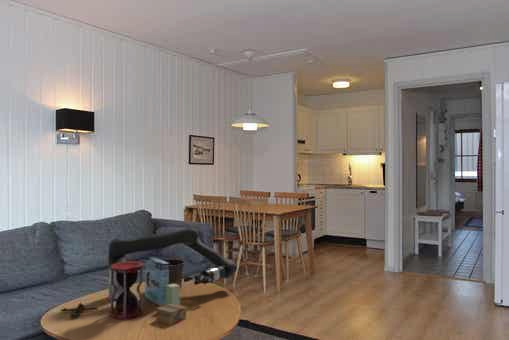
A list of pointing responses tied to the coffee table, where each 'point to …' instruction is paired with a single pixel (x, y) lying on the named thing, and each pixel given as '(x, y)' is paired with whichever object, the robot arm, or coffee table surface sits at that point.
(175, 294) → the sage block
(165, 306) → the walnut base block
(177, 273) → the plant pot
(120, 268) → the hourglass
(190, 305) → the coffee table surface
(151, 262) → the gum box
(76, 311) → the brown crossed bar shape
